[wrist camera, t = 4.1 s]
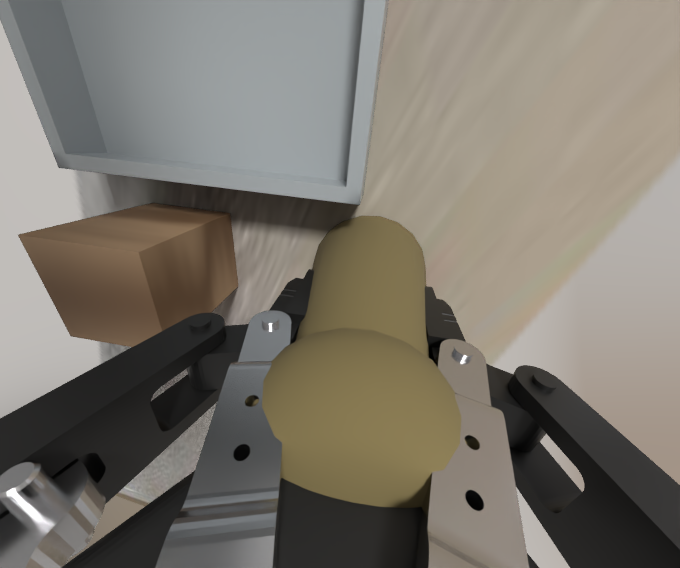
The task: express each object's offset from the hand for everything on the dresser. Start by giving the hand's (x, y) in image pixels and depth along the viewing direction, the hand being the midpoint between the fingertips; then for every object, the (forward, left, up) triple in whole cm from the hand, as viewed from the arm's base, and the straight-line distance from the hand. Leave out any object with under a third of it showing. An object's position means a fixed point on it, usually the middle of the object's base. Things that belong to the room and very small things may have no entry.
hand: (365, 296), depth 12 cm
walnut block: (0, -10, -3) cm, 10 cm away
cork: (0, 0, -3) cm, 3 cm away
